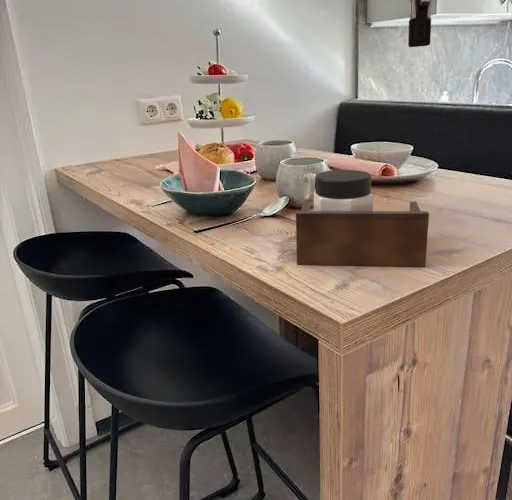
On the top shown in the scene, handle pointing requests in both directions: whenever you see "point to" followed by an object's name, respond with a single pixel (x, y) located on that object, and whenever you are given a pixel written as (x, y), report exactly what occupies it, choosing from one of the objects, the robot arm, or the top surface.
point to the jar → (343, 191)
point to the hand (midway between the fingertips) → (419, 46)
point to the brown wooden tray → (362, 237)
